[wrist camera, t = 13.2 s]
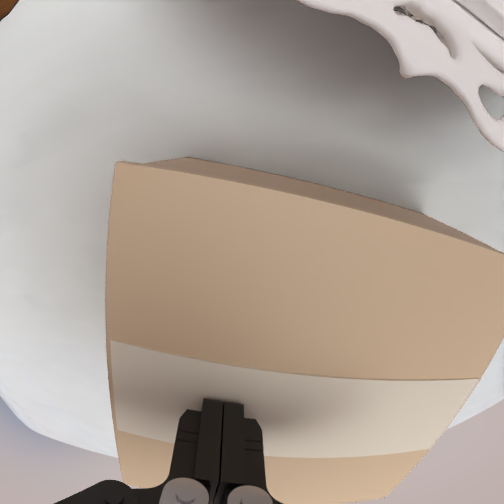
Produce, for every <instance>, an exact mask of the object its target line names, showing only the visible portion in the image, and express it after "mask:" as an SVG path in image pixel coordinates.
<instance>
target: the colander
mask: <svg viewBox="0 0 504 504" xmlns="http://www.w3.org/2000/svg"><path fill="white" fill-rule="evenodd" d="M297 1H299V2H301V3H303V4H305V5H307V6H308V7H311V8H314V9H318V10H321V11H325V12H328V13H332V14H339V15H345V16H350V17H352V18H354V19H356V20H358V21H359V22H361V23H363V24H365V25H368V26H370V27H372V28H373V29H375V30H376V31H377V32H378V33H380V34H381V35H382V36H383V37H384V38H385V39H387V41H388V42H389V43H390V45H391V46H392V48H393V51H394V53H395V55H396V56H397V58H398V60H399V65H400V70H399V73H400V75H401V76H402V78H407V79H408V78H411V77H415V76H419V75H422V76H426V75H430V76H434V77H436V78H438V79H439V80H441V81H442V82H444V83H445V84H446V85H448V86H449V87H450V88H451V89H452V91H453V92H454V93H455V94H456V95H457V96H458V97H459V98H460V99H461V100H462V101H463V102H464V104H465V105H466V107H467V109H468V111H469V114H470V116H471V118H472V120H473V122H474V123H475V125H476V126H477V128H478V129H479V131H480V133H481V134H482V135H483V136H484V137H485V138H486V139H487V140H488V141H489V142H490V143H491V144H492V145H494V146H495V147H497V148H498V149H500V150H501V151H503V152H504V115H503V116H502V117H501V118H500V120H495V119H494V118H493V117H492V116H491V115H489V114H488V112H487V111H486V109H485V108H484V106H483V104H482V102H481V99H480V97H479V94H478V91H479V86H481V85H484V86H486V87H488V88H489V89H491V90H492V91H493V92H494V93H495V94H498V95H501V96H503V97H504V39H503V38H504V0H297ZM396 6H400V7H401V8H402V9H403V10H405V13H406V14H404V13H402V12H397V11H394V10H393V9H394V7H396ZM409 13H411V14H412V15H413V16H412V17H410V16H409ZM415 20H421V21H422V23H423V24H422V23H419V22H416V21H415ZM485 23H486V24H487V25H488V26H489V27H490V28H491V29H493V30H494V31H495V32H496V33H495V32H494V31H493V30H491V29H490V28H489V27H488V26H486V25H485ZM426 24H428V25H430V26H434V27H435V28H436V30H437V32H436V34H437V36H436V34H435V33H434V31H433V30H432V29H431V28H430V27H429V26H427V25H426ZM497 33H498V34H499V35H500V36H502V37H503V38H501V37H500V36H499V35H498V34H497Z"/></svg>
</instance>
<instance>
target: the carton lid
mask: <svg viewBox="0 0 504 504" xmlns="http://www.w3.org/2000/svg"><path fill="white" fill-rule="evenodd" d="M105 309H106V347H107V365H108V379H109V390H110V400H111V409H112V418H113V425H114V432H115V439H116V446H117V452H118V457H119V463H120V468H121V473H122V478H123V483H125V484H128V485H132V486H136V487H139V488H153V487H156V486H158V485H160V484H162V483H163V482H164V481H165V480H166V479H167V477H168V475H169V471H170V466H171V460H172V455H173V449H174V444H175V439H176V433H177V428H178V423H179V418H180V417H181V416H182V414H183V413H184V412H185V411H186V410H187V409H190V410H195V411H201V409H202V403H203V398H205V399H211V400H218V401H223V403H224V401H225V402H231V403H239V404H243V405H244V418H251V419H256V420H257V422H258V424H259V425H260V427H261V429H262V435H263V449H264V451H263V453H264V462H265V476H266V486H267V489H268V491H269V493H270V495H271V496H272V497H273V498H274V499H276V500H277V501H279V502H281V503H283V504H339V503H350V502H357V501H366V500H373V499H380V498H385V497H386V496H387V495H388V494H389V493H390V492H391V491H392V490H393V489H394V488H395V487H396V486H397V485H398V484H399V483H400V482H401V481H402V480H403V479H404V478H405V477H406V476H407V475H408V473H410V471H411V470H412V469H413V468H414V467H415V466H416V465H417V464H418V463H419V461H420V460H421V459H422V458H423V457H424V456H425V454H426V453H427V452H428V451H429V450H430V448H431V447H432V446H433V445H434V443H436V441H437V440H438V439H439V437H440V436H441V435H442V434H443V432H444V431H445V430H446V428H447V427H448V426H449V424H450V423H451V422H452V420H453V419H454V418H455V416H456V415H457V414H458V412H459V411H460V409H461V408H462V406H463V405H464V403H465V402H466V401H467V399H468V398H469V396H470V394H471V393H472V391H473V390H474V388H475V387H476V385H477V384H478V382H479V380H480V379H481V377H482V375H483V374H484V372H485V370H486V369H487V367H488V365H489V363H490V362H491V360H492V358H493V356H494V354H495V353H496V351H497V349H498V347H499V345H500V343H501V341H502V339H503V337H504V253H503V252H500V251H497V250H494V249H492V248H489V247H486V246H483V245H480V244H477V243H474V242H471V241H468V240H465V239H462V238H459V237H456V236H453V235H450V234H447V233H443V232H440V231H437V230H434V229H431V228H427V227H424V226H421V225H417V224H414V223H411V222H407V221H404V220H400V219H397V218H393V217H390V216H386V215H382V214H379V213H375V212H371V211H368V210H364V209H360V208H356V207H353V206H349V205H345V204H341V203H337V202H333V201H329V200H325V199H321V198H316V197H312V196H308V195H304V194H299V193H295V192H291V191H286V190H282V189H277V188H272V187H268V186H263V185H258V184H254V183H249V182H244V181H239V180H234V179H228V178H223V177H218V176H213V175H207V174H202V173H196V172H190V171H184V170H179V169H173V168H166V167H160V166H154V165H147V164H140V163H133V162H126V161H121V162H116V164H115V171H114V178H113V186H112V195H111V204H110V215H109V227H108V241H107V259H106V298H105Z"/></svg>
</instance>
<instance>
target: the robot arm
mask: <svg viewBox="0 0 504 504" xmlns="http://www.w3.org/2000/svg"><path fill="white" fill-rule="evenodd" d="M263 451H264V449H263V435H262V429H261V427H260V425H259V424H258V422H257V420H256V419H251V418H244V405H243V404H239V403H231V402H225V401H224V403H223V401H218V400H211V399H205V398H203V403H202V409H201V411H195V410H190V409H187V410H186V411H185V412H184V413H183V414H182V416H181V417H180V418H179V423H178V428H177V433H176V439H175V444H174V449H173V455H172V460H171V466H170V471H169V475H168V477H167V479H166V480H165V481H164V482H163V483H162V484H160V485H158V486H156V487H153V488H143V489H131V488H130V487H129V486H127V485H126V484H125V483H122V482H120V481H116V480H105V481H101V482H99V483H97V484H95V485H93V486H91V487H89V488H87V489H85V490H83V491H81V492H79V493H77V494H74V495H72V496H70V497H68V498H66V499H63V500H61V501H59V502H57V503H54V504H283V503H281V502H279V501H277V500H276V499H274V498H273V497H272V496H271V495H270V493H269V491H268V489H267V486H266V476H265V462H264V453H263Z"/></svg>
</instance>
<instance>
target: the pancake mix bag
mask: <svg viewBox="0 0 504 504" xmlns="http://www.w3.org/2000/svg"><path fill="white" fill-rule="evenodd" d="M17 2H18V0H0V20H1V19H2V18H4V17H5V16H6V15H7V14H9V12H10V11H11V10H12V8H13V7H14V6H15V4H16V3H17Z"/></svg>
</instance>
